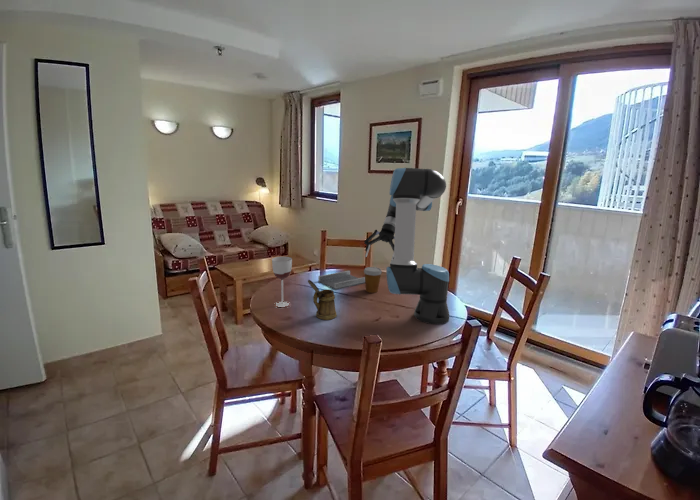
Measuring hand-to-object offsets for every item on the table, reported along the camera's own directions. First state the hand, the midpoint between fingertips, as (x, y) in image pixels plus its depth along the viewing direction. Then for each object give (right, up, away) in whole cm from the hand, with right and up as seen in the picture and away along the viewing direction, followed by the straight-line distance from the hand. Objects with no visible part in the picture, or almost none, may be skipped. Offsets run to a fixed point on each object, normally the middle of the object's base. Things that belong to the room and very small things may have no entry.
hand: (378, 260), depth 190 cm
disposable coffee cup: (-3, -17, +2) cm, 17 cm away
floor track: (-19, -13, +14) cm, 27 cm away
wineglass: (-46, -20, -21) cm, 55 cm away
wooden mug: (-27, -24, -33) cm, 49 cm away
